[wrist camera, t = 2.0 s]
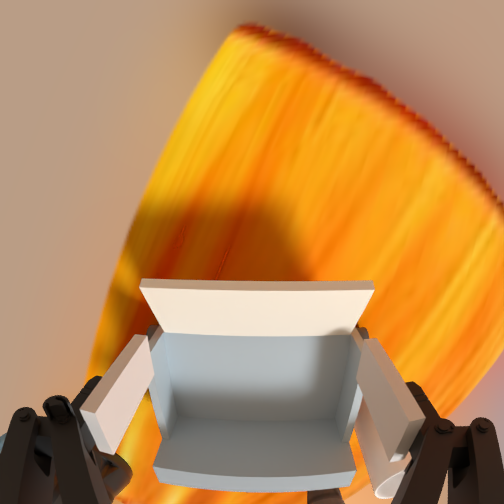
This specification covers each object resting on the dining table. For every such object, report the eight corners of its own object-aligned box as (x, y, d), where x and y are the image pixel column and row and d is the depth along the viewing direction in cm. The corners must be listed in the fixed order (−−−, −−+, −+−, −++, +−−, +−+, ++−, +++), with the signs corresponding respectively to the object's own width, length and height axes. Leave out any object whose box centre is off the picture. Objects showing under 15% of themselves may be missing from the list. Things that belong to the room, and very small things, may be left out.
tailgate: (164, 332, 32) (139, 287, 26) (166, 323, 33) (142, 277, 26) (350, 334, 32) (374, 289, 25) (348, 325, 32) (372, 279, 26)
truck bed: (171, 414, 42) (148, 479, 28) (153, 316, 37) (108, 378, 24) (342, 416, 41) (361, 484, 27) (362, 318, 36) (403, 382, 23)
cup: (346, 428, 41) (367, 503, 26) (355, 393, 40) (384, 473, 24) (390, 421, 41) (420, 489, 26) (402, 386, 39) (442, 457, 24)
